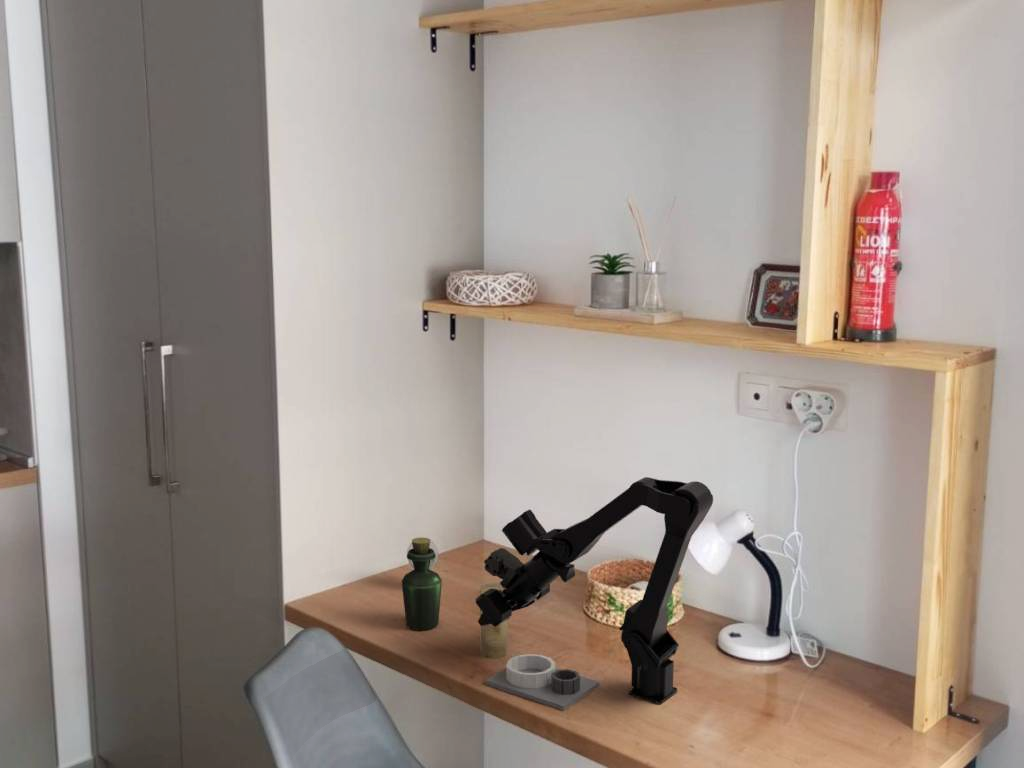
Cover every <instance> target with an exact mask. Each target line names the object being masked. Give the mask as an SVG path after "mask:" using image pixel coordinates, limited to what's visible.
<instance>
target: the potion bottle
mask: <svg viewBox="0 0 1024 768" xmlns="http://www.w3.org/2000/svg"><path fill="white" fill-rule="evenodd" d="M430 541H432V540H431V538H428V537H423V536H422V537H421V536H420V537H416V538H415V537H414V538H413V539H411V543H412V545H413V549H411V550H409V551H408V554H407V553H406V558H408V559H409V560H412V562H413V566H414V570H413V569H412V570H410V571H409V572H407V573H405V574H404V576H403V578H402V580H401V587H402V589H401V590H402V598H403V607H404V608H403V609H404V614H405V616H404V617H405V625H406V627H407V628H408V627H409V629H410V630H412V631H417V632H418V631H419V632H426V631H431V630H434V629H435V628H437V626H438V625H439V620H440V610H441V609H440V608H441V597H442V596H441V595H442V585H443V584H442V581H443V580H442V578H441V576H440V574H439V573H437V572H436V571H433V569H432V570H430V569H429V565H430V561H431V560H432V559H434V558H435V557H436V555H435V552H434V550H433V549H431V548H429V546H430ZM408 559H407V560H408Z"/></svg>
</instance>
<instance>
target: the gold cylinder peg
mask: <svg viewBox="0 0 1024 768" xmlns="http://www.w3.org/2000/svg"><path fill="white" fill-rule="evenodd" d="M491 588H492V589H497V590H498V591H499V593H500V594H501V595H502V597H504V595H503V594H502V591H503V590H504V589H506V588H503V587H502V585H501V584H500V583H497V582H496V583H494V582H493V583H492V582H491V583H484V584H483V585H481V586H480V587H479V596H480V595H481V594H482V593H484V592H486V591H487V590H489V589H491ZM505 596H506V595H505ZM507 603H508V602H507ZM479 609H480V608H479ZM479 612H480V613H479V614H480V615H479V617H480V616H481V614H482V613H483V612H482V611H481V609H480V610H479ZM508 620H509V619H507V620H506V621H504V622H503V623H501V624H500V625H498V626H496V627H495V626H493V625H492V624H488V625H483V626H481V625H480V624H479V627H480V629H479V630H480V632H479V634H480V636H479V637H480V638H479V639H480V648H479V649H480V656H482V657H484V658H487V659H500V658H503V657H505V656H507V655H508V652H509V651H508V649H509V647H508V644H509V643H508V642H509V640H508V639H509V638H508V632H509V631H508Z"/></svg>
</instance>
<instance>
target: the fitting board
mask: <svg viewBox="0 0 1024 768" xmlns="http://www.w3.org/2000/svg"><path fill="white" fill-rule="evenodd" d="M600 682H601V681H598V680H594V679H592V678H588V677H585V676H582V675H580V674H579V672H578V671H576V670H573V669H568V668H564V669H563V668H561V669H559V668H556V662H555V660H553V659H552V658H551V657H549V656H545V655H541V654H530V653H526V654H521V655H515V656H513V657H511V658H510V659H507V662H506V667H505V668H503V669H502V670H500V671H498V672H496V673H495V674H492V675H491V676H489V677H488V678H485V679H484V685H486V686H489V687H492V688H495V689H498V690H500V691H505V692H506V693H510V694H513V695H516V696H519V697H522V698H524V699H528V700H531V701H534V702H537V703H538V704H543V705H545V706H548V707H551V708H552V707H553V708H555V709H557V710H561V711H563V712H564V711H565V710H567V709H568V708H569V707H571V706H573V705H574V704H576V703H577V702H579V701H580V700H582V699H583V698H584V697H585V698H586V696H588V695H589V694H591V693H592V692H594V691H595V690H596V689H599V688H600V687H601V683H600Z"/></svg>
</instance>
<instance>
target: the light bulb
mask: <svg viewBox="0 0 1024 768" xmlns="http://www.w3.org/2000/svg"><path fill="white" fill-rule="evenodd" d="M429 548H431V549H433V550H434V552H435V555H436V557H435V558H434V559H432V560H431V561H430V565H429V569H430V570H432V571H433V568H434V566H435V565H436V564H437V562H438V558H439V549H438V546H437V544H436V543H435V542H434V541H432V540H431V541H430V546H429ZM411 549H413V545H412V542H411V543H409V545H408V547H407V550H406V555H407V554H408V551H409V550H411ZM406 558H407V557H406ZM407 561H408V563H409V566H411V569H412V570H414V566H413V562H412V560H409V559H408V558H407Z"/></svg>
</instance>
